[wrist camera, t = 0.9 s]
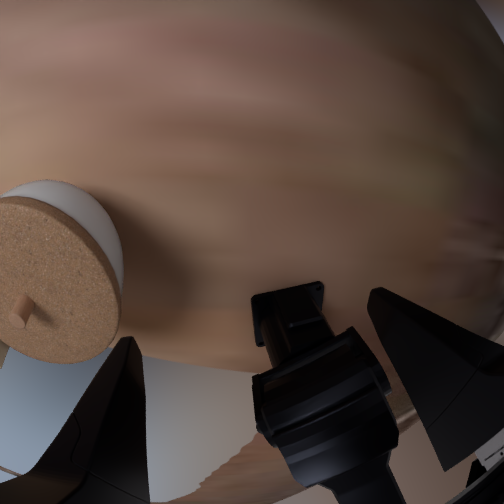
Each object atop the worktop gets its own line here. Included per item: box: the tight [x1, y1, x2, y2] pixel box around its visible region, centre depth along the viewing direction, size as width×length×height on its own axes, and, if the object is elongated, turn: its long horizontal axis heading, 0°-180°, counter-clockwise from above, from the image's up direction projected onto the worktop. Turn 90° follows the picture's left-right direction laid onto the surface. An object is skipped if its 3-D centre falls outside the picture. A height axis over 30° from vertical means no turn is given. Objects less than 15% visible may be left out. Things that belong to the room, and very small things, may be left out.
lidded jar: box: [0, 179, 124, 364], centre depth 14 cm, size 11×11×9 cm
